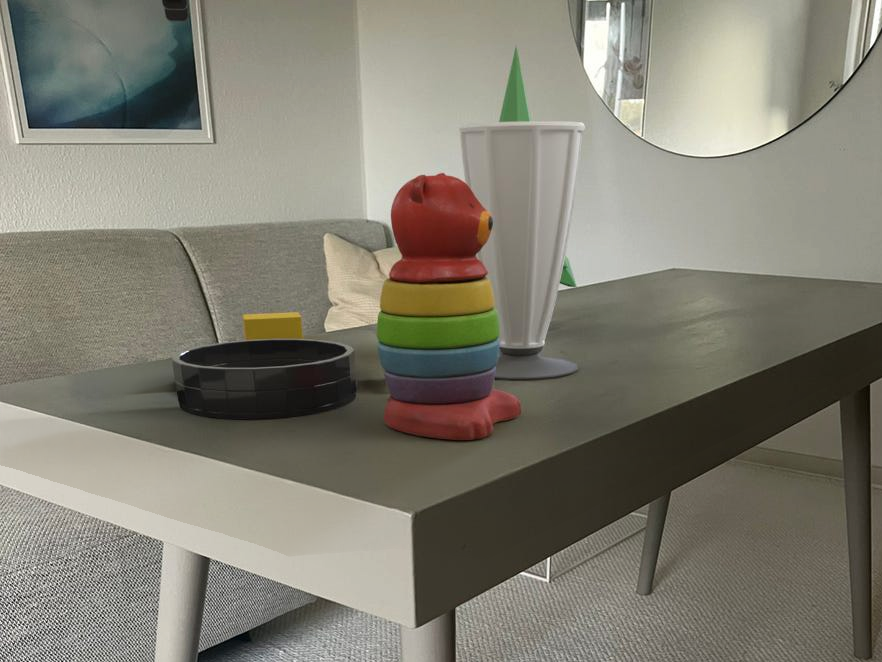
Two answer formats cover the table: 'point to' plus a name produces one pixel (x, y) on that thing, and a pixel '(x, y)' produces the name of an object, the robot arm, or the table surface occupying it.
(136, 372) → the table surface
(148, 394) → the table surface
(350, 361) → the bowl
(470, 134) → the cup
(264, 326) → the sponge
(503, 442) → the table surface
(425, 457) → the table surface
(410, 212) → the stacking bear
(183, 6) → the robot arm
